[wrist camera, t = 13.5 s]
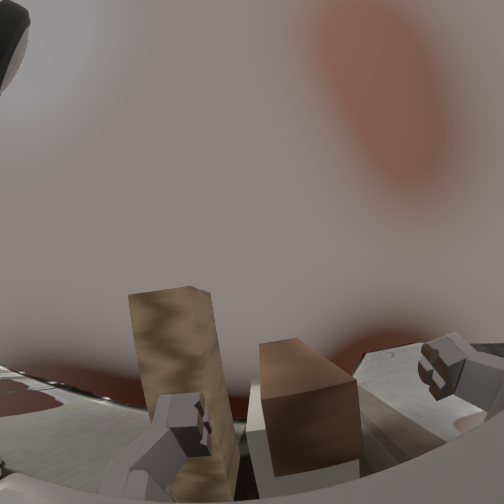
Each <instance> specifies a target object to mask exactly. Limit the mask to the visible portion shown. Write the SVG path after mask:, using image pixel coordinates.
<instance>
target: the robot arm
mask: <svg viewBox="0 0 504 504" xmlns="http://www.w3.org/2000/svg"><path fill="white" fill-rule="evenodd" d="M29 25H30V18H29V13H28V11H27V10H26V9H25V8H24V7H22V6H20V5H19V4H17V3H15V2H13V1H10V0H2V1H0V95H1V93H2V92H3V91H4V90H5V88H6V87H7V86H8V85H9V83H10V82H11V81H12V79H13V77H14V76H15V74H16V72H17V71H18V69H19V66H20V64H21V62H22V60H23V57H24V54H25V50H26V47H27V42H28V28H29ZM421 353H422V354H423V356H422V357H421V359H420V360H419V363H418V373H419V376H420V379H421V380H422V381H423V383H425V384H427V385H429V391H430V393H431V394H432V395H433V397H434V398H435V399H436V401H438V400H441V399H443V398H445V397H448V396H450V395H452V394H454V395H455V396H457V397H459V398H461V399H463V400H465V401H467V402H469V403H471V404H473V405H475V406H477V407H479V408H481V409H483V410H485V411H487V412H488V414H487V416H486V418H485V419H484V422H483V423H482V424H480V425H479V426H477V427H475V428H474V429H472V430H470V431H469V432H467V433H465V434H463V435H461V436H459V437H458V438H456V439H454V440H452V441H450V442H448V443H446V444H444V445H442V446H440V447H438V448H436V449H434V450H432V451H429V452H427V453H425V454H423V455H421V456H418V457H416V458H414V459H411V460H409V461H406V462H404V463H401V464H399V465H396V466H394V467H391V468H388V469H385V470H383V471H380V472H377V473H374V474H371V475H368V476H365V477H362V478H358V479H355V480H352V481H348V482H345V483H341V484H337V485H333V486H329V487H325V488H321V489H317V490H312V491H307V492H302V493H297V494H291V495H286V496H279V497H272V498H265V499H256V500H247V501H234V502H216V503H174V502H173V501H172V500H171V499H170V498H169V497H168V496H167V494H166V493H165V492H164V490H165V489H166V488H167V486H168V485H169V484H170V483H171V481H172V480H173V479H174V477H175V476H176V475H177V473H178V472H179V471H180V469H181V468H182V467H183V465H184V464H185V463H186V461H187V460H188V457H204V456H212V440H211V438H210V436H209V435H210V434H211V433H212V418H211V414H210V410H209V408H208V407H206V406H205V398H204V395H203V393H201V392H199V393H183V394H166V395H160V396H159V398H158V401H157V405H156V409H155V414H154V418H153V422H152V427H151V428H147V429H146V430H145V431H144V432H143V433H142V434H141V435H140V436H138V437H137V438H136V439H135V440H134V441H133V442H132V443H131V444H130V445H129V446H127V447H126V448H125V449H124V450H123V451H122V452H121V453H120V454H118V455H117V456H116V457H115V458H114V459H113V460H112V461H111V462H109V463H108V464H107V465H106V466H105V469H104V472H103V476H102V479H101V483H100V486H99V490H98V494H95V493H90V492H85V491H80V490H76V489H72V488H68V487H64V486H60V485H56V484H53V483H49V482H46V481H43V480H39V479H36V478H33V477H30V476H28V475H25V474H22V473H12V474H10V475H8V476H6V477H5V478H3V479H1V480H0V504H504V358H501V357H498V356H494V355H491V354H487V353H484V352H479V353H478V352H477V351H476V350H475V349H474V348H473V347H472V346H471V345H470V344H469V343H468V342H467V341H465V340H464V339H463V338H462V337H461V336H460V335H459V334H458V333H457V332H452V333H450V334H447V335H445V336H443V337H440V338H437V339H435V340H432V341H429V342H427V343H424V344H423V346H422V349H421ZM1 463H2V459H1V457H0V464H1ZM1 474H2V470H1V468H0V477H1Z"/></svg>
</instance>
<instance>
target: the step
mask: <svg viewBox="0 0 504 504" xmlns="http://www.w3.org/2000/svg"><path fill="white" fill-rule="evenodd" d="M246 436H247V441H248V446H249V451H250V456H251V460H252V465H253V470H254V475H255V479H256V484H257V488H258V493H259V497H260V499H265V498H272V497H279V496H286V495H291V494H297V493H302V492H307V491H312V490H317V489H321V488H325V487H329V486H333V485H337V484H341V483H345V482H348V481H352V480H355V479H358V478H360V472H359V459H357V460H354V461H350V462H346V463H343V464H339V465H335V466H331V467H327V468H322V469H318V470H313V471H308V472H303V473H298V474H293V475H287V476H280V477H274V472H273V466H272V461H271V455H270V450H269V444H268V439H267V433H266V428H265V422H264V417H263V411H262V405H261V398H260V378H259V379H253V380H252V384H251V392H250V401H249V409H248V417H247V425H246Z"/></svg>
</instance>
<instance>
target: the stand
mask: <svg viewBox="0 0 504 504" xmlns="http://www.w3.org/2000/svg"><path fill="white" fill-rule="evenodd" d="M128 299H129V307H130V315H131V322H132V329H133V335H134V342H135V348H136V354H137V360H138V365H139V371H140V376H141V381H142V386H143V390H144V395H145V400H146V404H147V408H148V412H149V417H150V421H151V425H152V422H153V418H154V414H155V409H156V405H157V401H158V398H159V396H160V395H166V394H183V393H199V392H201V393H203V395H204V398H205V406H206V407H208V408H209V410H210V414H211V418H212V433H211V434H210V435H209V436H210V438H211V440H212V456H204V457H188V460H187V461H186V463H185V464H184V465H183V467H182V468H181V469H180V471H179V472H178V473H177V475H176V476H175V477H174V479H173V480H172V481H171V483H170V484H169V485H170V488H171V491H172V494H173V496H174V499H175V502H176V503H216V502H234V495H235V489H236V482H237V475H238V468H239V462H240V453H239V449H238V444H237V439H236V434H235V430H234V425H233V420H232V415H231V410H230V405H229V400H228V394H227V389H226V384H225V378H224V373H223V367H222V361H221V356H220V350H219V344H218V338H217V332H216V326H215V319H214V313H213V307H212V301H211V294H210V293H209V292H206V291H203V290H200V289H197V288H194V287H191V286H187V287H180V288H173V289H166V290H159V291H153V292H146V293H138V294H131V295H128Z"/></svg>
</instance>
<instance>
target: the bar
mask: <svg viewBox="0 0 504 504" xmlns="http://www.w3.org/2000/svg"><path fill="white" fill-rule="evenodd" d="M259 349H260V398H261V405H262V411H263V417H264V422H265V428H266V433H267V439H268V444H269V450H270V455H271V461H272V466H273V472H274V477H280V476H287V475H293V474H298V473H303V472H308V471H313V470H318V469H322V468H327V467H331V466H335V465H339V464H343V463H346V462H350V461H354V460H357V459H360V458H363V446H362V431H361V419H360V408H359V397H358V388H357V380H356V379H355V378H353V377H352V376H350V375H349V374H348V373H346V372H345V371H343V370H342V369H340V368H339V367H338V366H336V365H335V364H333V363H332V362H330V361H329V360H328V359H326V358H325V357H323V356H322V355H321V354H319V353H318V352H316V351H315V350H314V349H312V348H311V347H309V346H308V345H307V344H305V343H304V342H302V341H301V340H300V339H298V338H292V339H287V340H281V341H275V342H269V343H263V344H259Z"/></svg>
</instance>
